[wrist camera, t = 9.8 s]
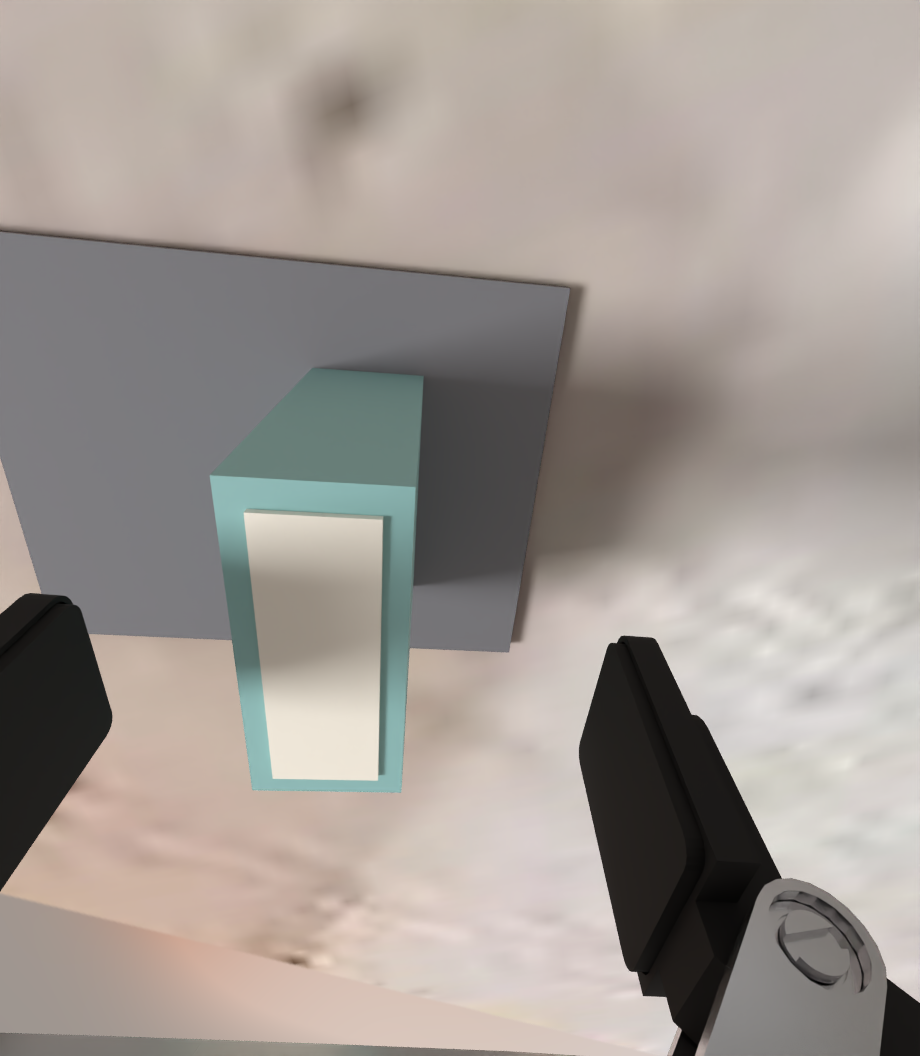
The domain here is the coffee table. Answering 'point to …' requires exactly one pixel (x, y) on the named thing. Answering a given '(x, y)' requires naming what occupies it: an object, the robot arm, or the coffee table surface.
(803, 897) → the robot arm
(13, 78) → the coffee table surface
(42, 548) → the mat
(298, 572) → the teal slab
